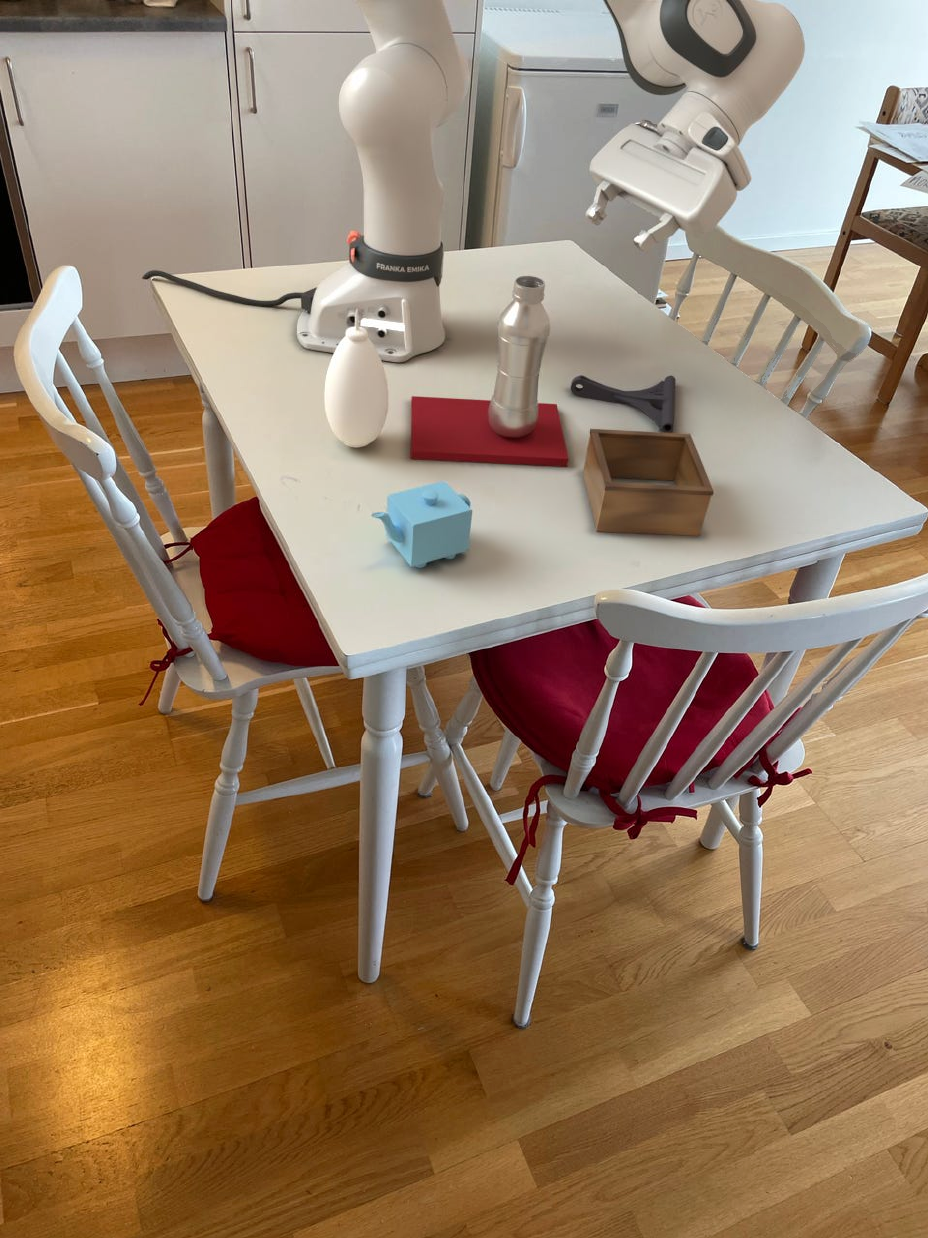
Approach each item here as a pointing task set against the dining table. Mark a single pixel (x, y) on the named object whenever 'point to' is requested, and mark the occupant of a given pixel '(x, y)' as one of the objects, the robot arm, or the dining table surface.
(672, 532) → the wooden box
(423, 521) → the teapot
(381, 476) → the dining table surface
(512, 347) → the metal bottle
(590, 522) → the dining table surface
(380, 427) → the white air blower bulb
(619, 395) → the squeegee
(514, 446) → the cushion mat
